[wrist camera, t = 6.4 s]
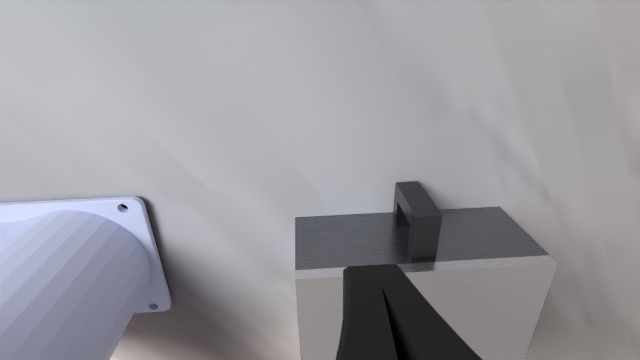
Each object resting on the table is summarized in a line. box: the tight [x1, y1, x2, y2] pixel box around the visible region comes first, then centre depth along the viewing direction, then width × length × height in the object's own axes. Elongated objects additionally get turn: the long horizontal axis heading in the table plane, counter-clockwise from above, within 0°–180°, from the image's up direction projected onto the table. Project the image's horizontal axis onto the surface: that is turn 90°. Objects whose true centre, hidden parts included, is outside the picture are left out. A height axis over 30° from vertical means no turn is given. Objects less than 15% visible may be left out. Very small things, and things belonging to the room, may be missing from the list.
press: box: [295, 182, 558, 360], centre depth 20 cm, size 12×14×5 cm
